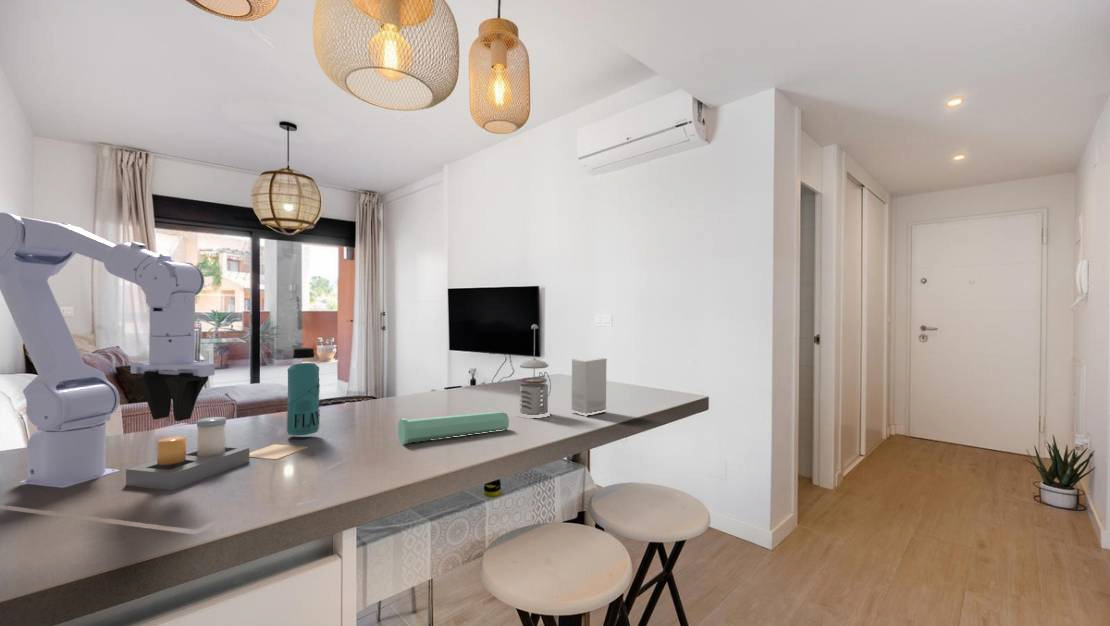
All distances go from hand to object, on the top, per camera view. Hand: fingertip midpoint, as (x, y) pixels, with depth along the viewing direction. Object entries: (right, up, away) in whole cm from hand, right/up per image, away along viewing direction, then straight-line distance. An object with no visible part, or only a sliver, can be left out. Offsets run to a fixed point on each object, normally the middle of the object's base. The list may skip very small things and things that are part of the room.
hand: (171, 418), depth 76 cm
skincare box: (+72, -11, +55) cm, 91 cm away
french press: (+57, -11, +52) cm, 78 cm away
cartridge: (+1, -10, +7) cm, 12 cm away
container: (+40, -11, +30) cm, 51 cm away
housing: (+1, -10, +3) cm, 11 cm away
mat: (+8, -10, +15) cm, 20 cm away
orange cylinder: (0, -7, 0) cm, 7 cm away
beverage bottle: (+7, -11, +27) cm, 30 cm away
